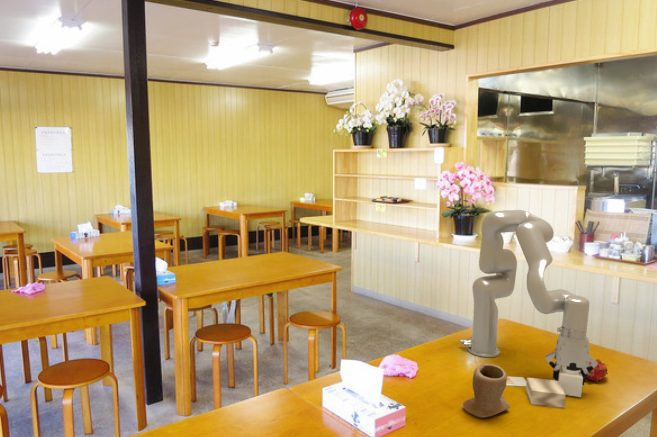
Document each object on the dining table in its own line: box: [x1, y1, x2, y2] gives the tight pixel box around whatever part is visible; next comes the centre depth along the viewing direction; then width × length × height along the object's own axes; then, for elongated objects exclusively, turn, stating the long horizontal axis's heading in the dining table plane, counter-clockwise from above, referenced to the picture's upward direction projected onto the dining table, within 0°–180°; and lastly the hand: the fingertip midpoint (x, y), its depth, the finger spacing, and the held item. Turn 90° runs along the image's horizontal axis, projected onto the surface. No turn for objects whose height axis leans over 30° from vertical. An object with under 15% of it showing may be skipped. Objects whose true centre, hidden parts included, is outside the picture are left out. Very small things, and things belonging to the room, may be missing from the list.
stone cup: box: [462, 363, 511, 418], centre depth 157 cm, size 15×12×15 cm
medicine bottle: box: [558, 363, 583, 398], centre depth 170 cm, size 7×7×12 cm
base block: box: [525, 377, 566, 410], centre depth 166 cm, size 10×10×5 cm
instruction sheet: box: [506, 376, 527, 388], centre depth 179 cm, size 10×7×1 cm
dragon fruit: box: [580, 358, 608, 383], centre depth 181 cm, size 8×8×12 cm
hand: (568, 381), depth 171 cm, fingers closed on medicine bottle, 7 cm apart
